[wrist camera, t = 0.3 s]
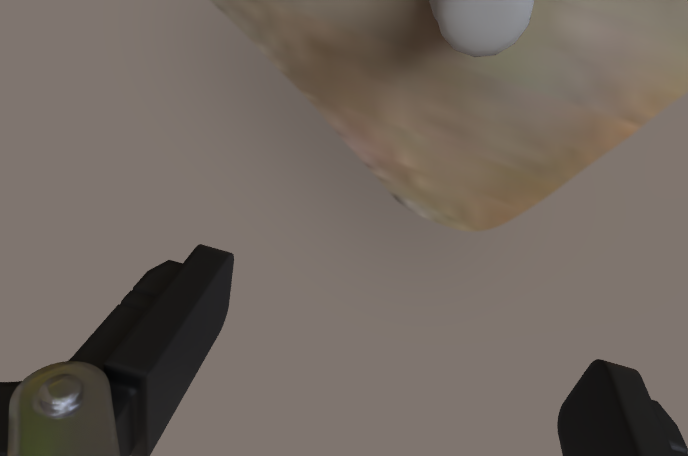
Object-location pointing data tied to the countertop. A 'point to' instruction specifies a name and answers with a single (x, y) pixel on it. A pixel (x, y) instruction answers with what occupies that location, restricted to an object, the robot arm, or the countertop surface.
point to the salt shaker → (481, 23)
